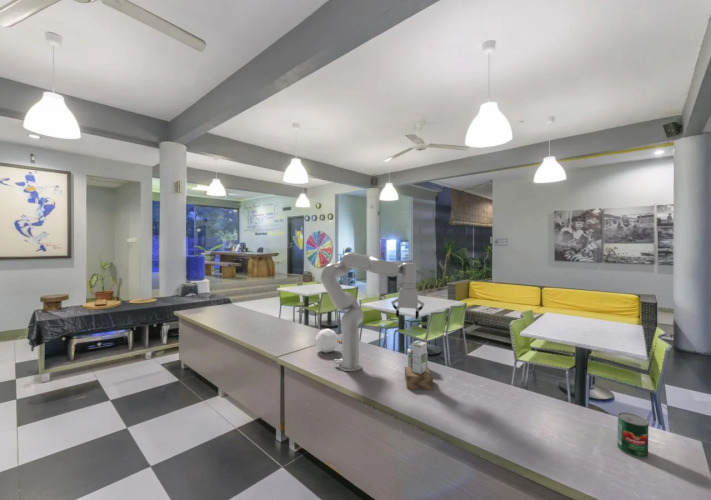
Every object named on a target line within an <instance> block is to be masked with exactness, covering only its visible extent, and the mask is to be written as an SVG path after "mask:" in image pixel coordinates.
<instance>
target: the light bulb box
mask: <svg viewBox="0 0 711 500" xmlns="http://www.w3.org/2000/svg"><path fill="white" fill-rule="evenodd" d="M407 367H411V348H407ZM426 367H428V359H427V360H426Z"/></svg>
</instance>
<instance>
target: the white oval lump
mask: <svg viewBox="0 0 711 500" xmlns="http://www.w3.org/2000/svg"><path fill="white" fill-rule="evenodd" d="M338 344H340V345H342V339H339V338H338V335H337V332H336V331H335V330H332V329H330V328H323V329H321V330H320V331H318V332H317V334H316V336H315V346H316V347H317V349H318V350H319V351H321V352H323V353H325V354H326V353H331V352H333V351H334V350H335V349H336V348H337V346H338Z"/></svg>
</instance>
